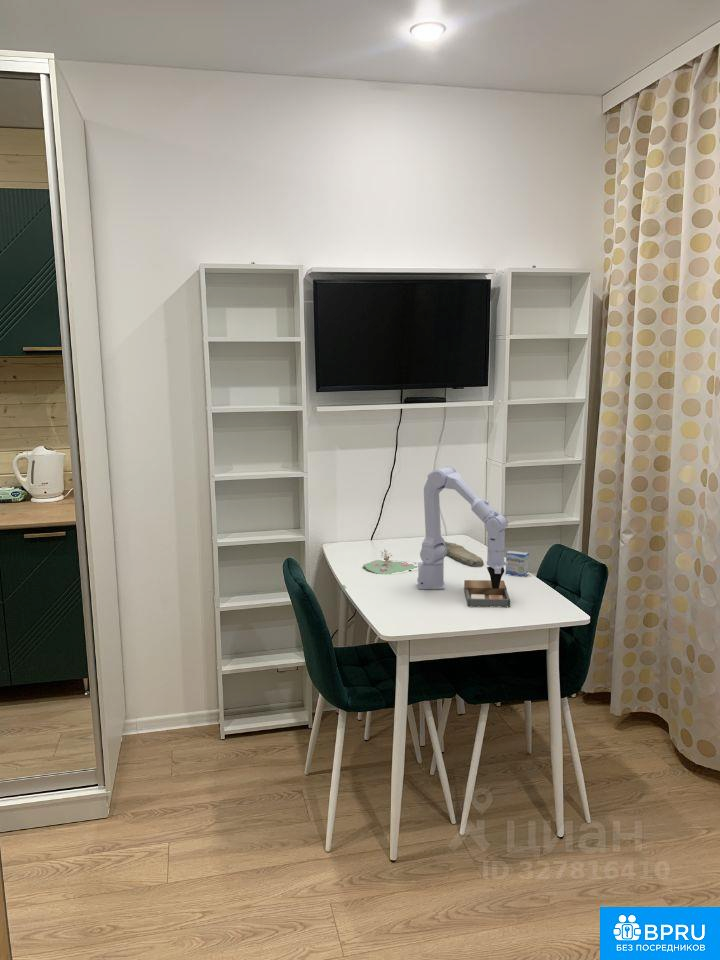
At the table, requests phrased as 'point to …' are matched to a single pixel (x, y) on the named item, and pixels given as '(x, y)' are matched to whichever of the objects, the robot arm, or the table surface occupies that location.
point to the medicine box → (517, 563)
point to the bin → (488, 601)
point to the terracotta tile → (495, 597)
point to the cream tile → (477, 596)
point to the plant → (388, 566)
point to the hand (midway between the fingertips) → (495, 588)
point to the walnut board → (483, 587)
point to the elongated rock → (463, 555)
